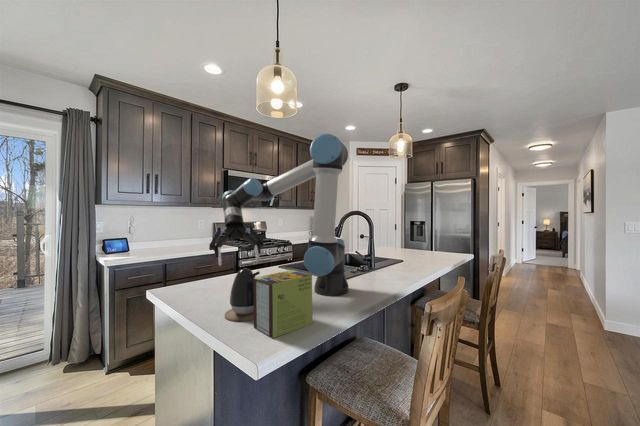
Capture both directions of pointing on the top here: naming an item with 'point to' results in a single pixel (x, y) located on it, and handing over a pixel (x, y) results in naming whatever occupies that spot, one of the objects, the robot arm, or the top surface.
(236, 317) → the walnut trivet
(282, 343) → the top surface
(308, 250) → the robot arm
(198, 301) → the top surface
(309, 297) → the protein box
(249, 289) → the pump dispenser
